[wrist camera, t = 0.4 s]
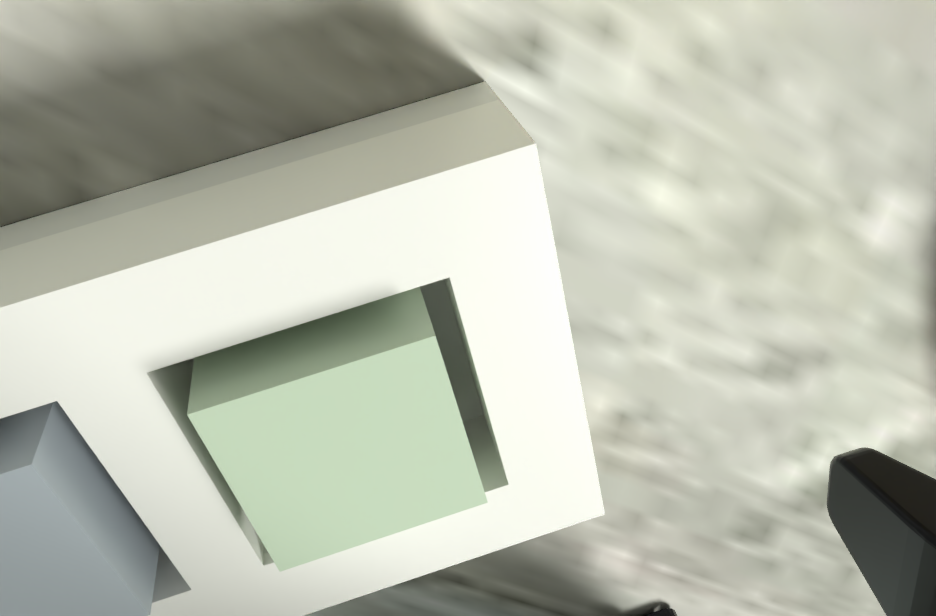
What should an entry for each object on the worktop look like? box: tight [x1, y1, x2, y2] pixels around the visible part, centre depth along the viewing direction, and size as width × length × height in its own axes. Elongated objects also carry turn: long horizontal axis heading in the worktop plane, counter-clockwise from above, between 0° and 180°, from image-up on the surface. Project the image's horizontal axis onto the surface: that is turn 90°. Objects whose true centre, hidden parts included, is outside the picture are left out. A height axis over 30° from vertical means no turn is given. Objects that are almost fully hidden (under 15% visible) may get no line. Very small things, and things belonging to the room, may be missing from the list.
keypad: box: [0, 81, 605, 616], centre depth 21 cm, size 12×30×4 cm, turn 103°
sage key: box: [187, 287, 488, 572], centre depth 20 cm, size 6×6×3 cm
